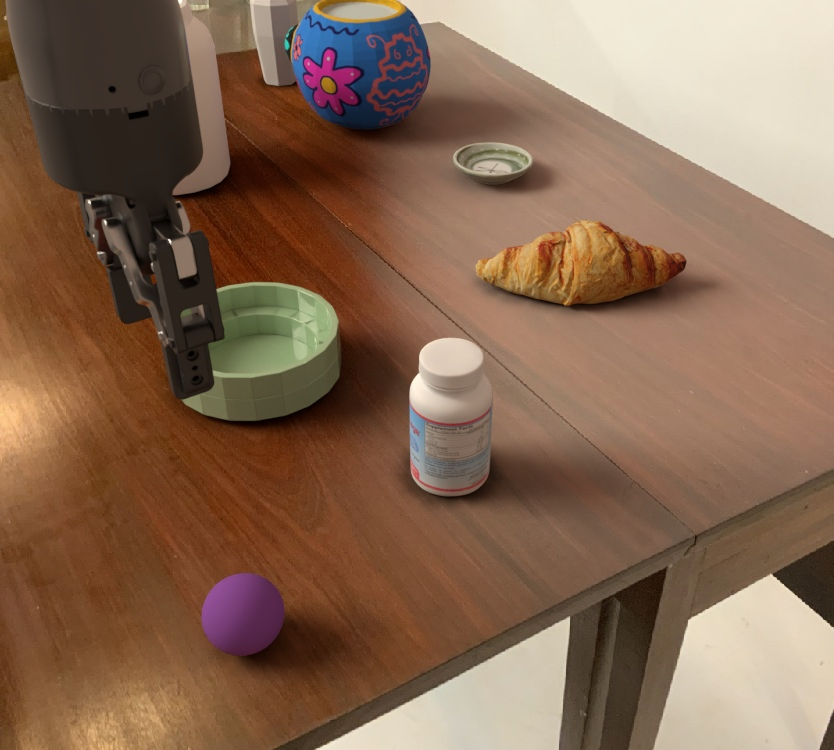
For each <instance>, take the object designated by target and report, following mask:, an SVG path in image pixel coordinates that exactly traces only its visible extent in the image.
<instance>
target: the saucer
mask: <svg viewBox="0 0 834 750" xmlns="http://www.w3.org/2000/svg"><path fill="white" fill-rule="evenodd" d="M452 163H453V165H454V166H455V168H457V169H458V170H459V171H461V173H462V174H464V175H466V176H467V177H468V178H471V179H474V180H475V181H477V183H481V184H485V185H502V184H507V183H509V182H510V181H512V180H516V179H518V178H519V177H521V176H523V175H524V174H526V172H528V171H530V170H531V169H532V167H533V165H534V158H533V155H532V154H531V153H530V152H529V151H528V150H526V149H524V148H522V147H520V146H516V145H513V144H510V143H505V142H504V143H503V142H495V141H494V142H493V141H489V142H487V141H485V142H483V141H482V142H475V143H471V144H467V145H465V146H462V147H460V148H459V149H457V150H456V151H455V152H454V154H453V156H452Z"/></svg>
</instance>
